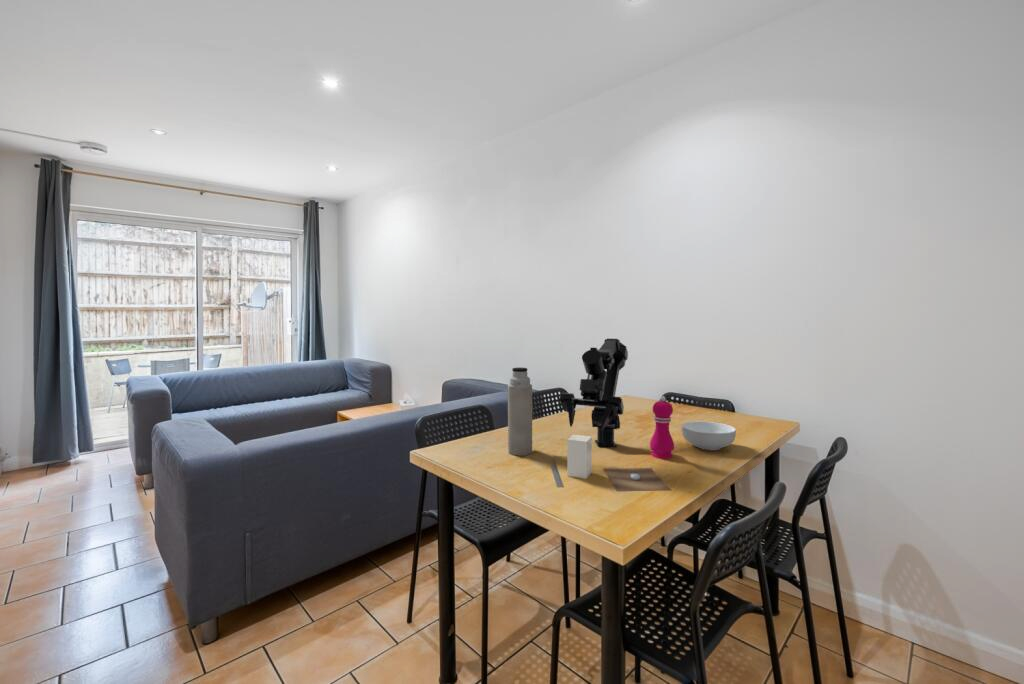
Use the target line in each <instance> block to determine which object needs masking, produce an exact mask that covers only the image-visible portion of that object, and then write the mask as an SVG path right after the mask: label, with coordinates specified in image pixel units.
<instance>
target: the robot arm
mask: <svg viewBox="0 0 1024 684" xmlns="http://www.w3.org/2000/svg"><path fill="white" fill-rule="evenodd" d="M627 348H628V347H627V346H626V345H625V344H623V343H622V342H621V341H620V339H618V338H606V339H604V341H603V344H602V345H601V346H600V348H599V349H598V347H590V349H589V350H586V351H585V352H584V353H583V354H582V355H581V359H582V364H583V366H584V371H585V373H586V374H587V378H581V379H580V384H579V391H580V396H581V397H582V398H577V397H576V396H575V394H574V393H571V392H568V393H567V392H562V393H560V395H559V398H558V400H559V404H560V405H561V408H562V410H564V411H565V412H567V414H568V421H569V426H570V427H571V428H572V426H573V424H574V420H575V416H576V408H577V406H586V407H591V408H593V407H594V408H593V409H592V411H591V425H592V426H591V427H592V428H597V432H596V433H597V434H596V435H597V436H596V437H597V438H596V439H594V443H595V445H597V447H598V448H599V447H600V448H602V447H603V448H605V447H608V448H609V447H613V448H614V447H616V448H617V447H618V444H617V443H616V442H615V430H619V429H620V428H621V422H620V416H622V415H624V411H625V410H624V408H625V407H624V402H623V399H622V397H621V396H616V392H617V386H618V380H619V374H620V370H621V371H622V369H623V368H624V367H625V366H626V361H627V360H628V359H629V358H628V357H629V351H628V349H627Z"/></svg>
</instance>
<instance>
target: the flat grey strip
mask: <svg viewBox="0 0 1024 684" xmlns="http://www.w3.org/2000/svg"><path fill="white" fill-rule="evenodd" d="M550 467H551V468H550V469H551V472H552V475H553V478H554V482H555V484H556V487H557V488H564V487H565V485H564V484H563V481H562V478H561V475H560V472H559V468H558V466H557V465H550Z"/></svg>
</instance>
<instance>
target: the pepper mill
mask: <svg viewBox="0 0 1024 684" xmlns="http://www.w3.org/2000/svg"><path fill="white" fill-rule="evenodd" d="M666 399H667V398H666V396H664V395H662V396H660V397H659V400H658V401H656V402H655V403H654V404H653V406H652V413H653V414H654V417H653V418H654V419H653V421H654V423H655V429H654V433H653V434H652V436H651V438H650V442H649V447H650V449H651V456H652V457H653V458H656V459H659V460H660V459H662V460H669V459H672V458H673V454H672V452H673V451H674V450H675V444H674V440H673V438H672V435H671V431H670V423H671V421H672V420H671V419H672V417H671V415H672V414H673V411H674V407H673V406H672V404H671V402H669V401H666Z"/></svg>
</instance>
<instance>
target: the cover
mask: <svg viewBox="0 0 1024 684" xmlns="http://www.w3.org/2000/svg"><path fill="white" fill-rule="evenodd" d="M592 437H593V436H592V435H591V436H590V435H582V434H572V435H570V437H568V438H567V449H566V451H567V452H566V453H567V454H566V455H567V457H566V458H567V461H566V462H567V465H566V466H567V467H566V470H567V471H566V474H567V475H566V476H567V477H573V478H578V479H584V480H585V479H588V477H589V476H590V475H591V474H592V452H593V451H592V448H593V447H592V444H593V443H592V441H593V439H592Z"/></svg>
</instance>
